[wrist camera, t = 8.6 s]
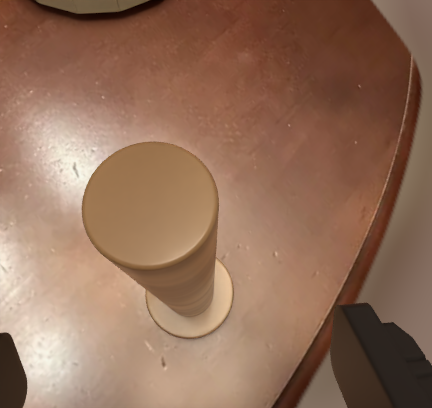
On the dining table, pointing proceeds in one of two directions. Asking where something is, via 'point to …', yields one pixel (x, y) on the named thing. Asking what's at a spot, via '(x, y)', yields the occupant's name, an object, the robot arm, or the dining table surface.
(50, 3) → the bowl
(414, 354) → the robot arm
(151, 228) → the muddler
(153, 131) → the dining table surface
